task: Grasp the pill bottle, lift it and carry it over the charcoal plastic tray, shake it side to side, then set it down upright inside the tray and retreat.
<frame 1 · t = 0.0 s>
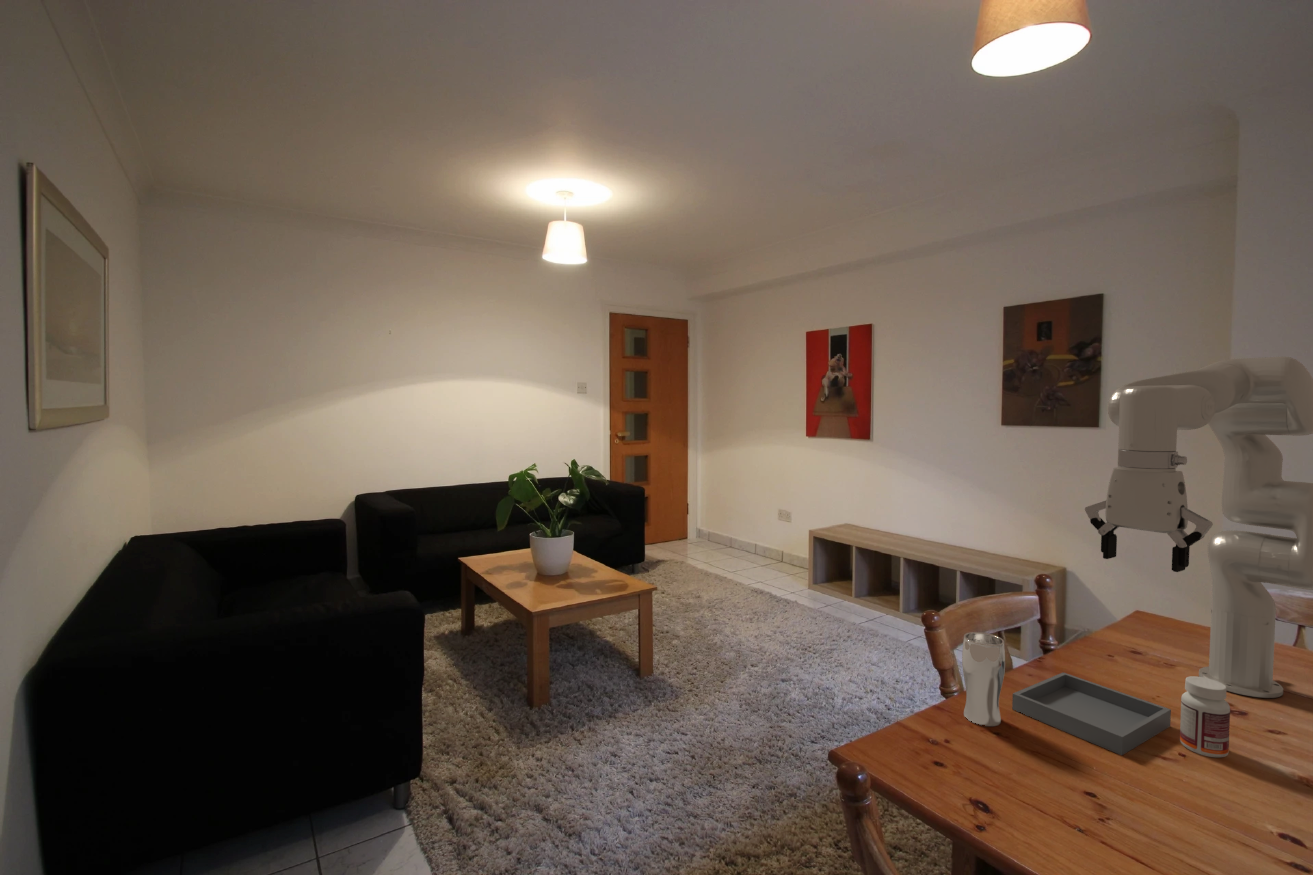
hand: (1142, 563, 103), 31 cm above the table, tool pointing down, fingers open, 9 cm apart
beer glass: (981, 719, 114), on the table
pill bottle: (1203, 749, 104), on the table
tray: (1089, 717, 114), on the table
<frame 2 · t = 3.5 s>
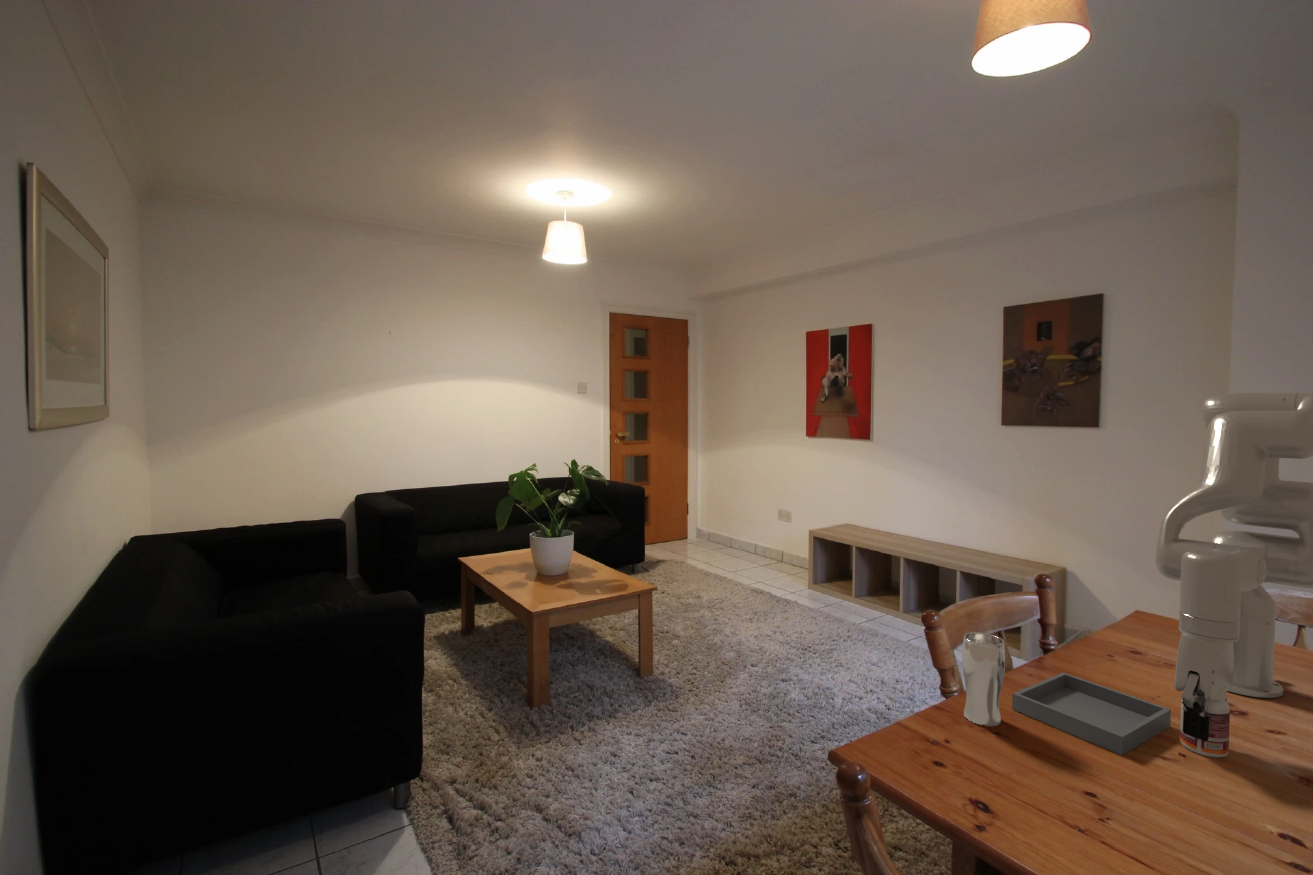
hand: (1204, 730, 104), 3 cm above the table, tool pointing down, fingers closed on pill bottle, 6 cm apart
pill bottle: (1203, 749, 104), on the table, touching gripper
everything else where it was.
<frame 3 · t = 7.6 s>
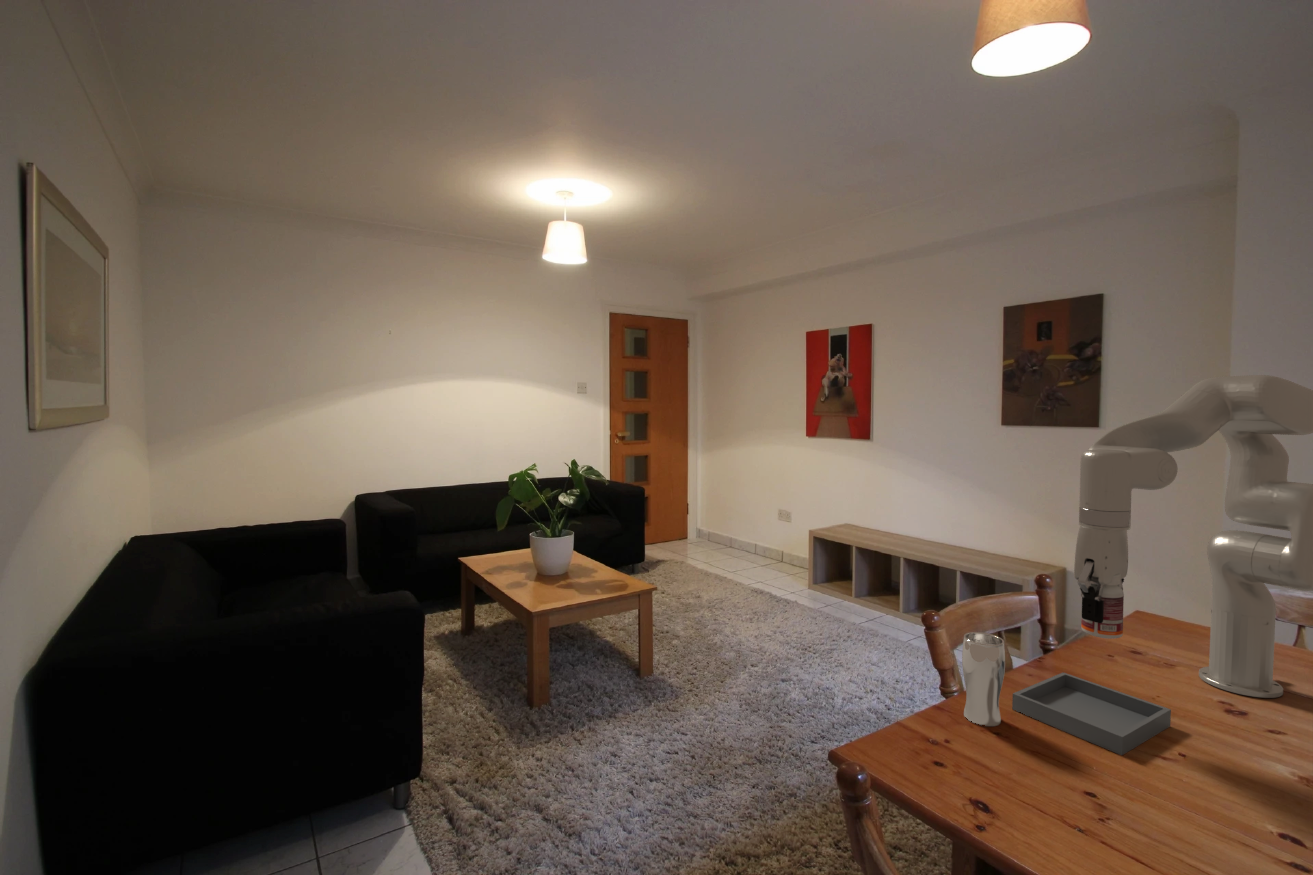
hand: (1101, 616, 112), 19 cm above the table, tool pointing down, fingers closed on pill bottle, 6 cm apart
pill bottle: (1101, 634, 112), point 16 cm above the table, touching gripper
everything else where it was.
when the fingers open (5 cm above the table, at t = 11.7 s): pill bottle drops 1 cm, resting on tray.
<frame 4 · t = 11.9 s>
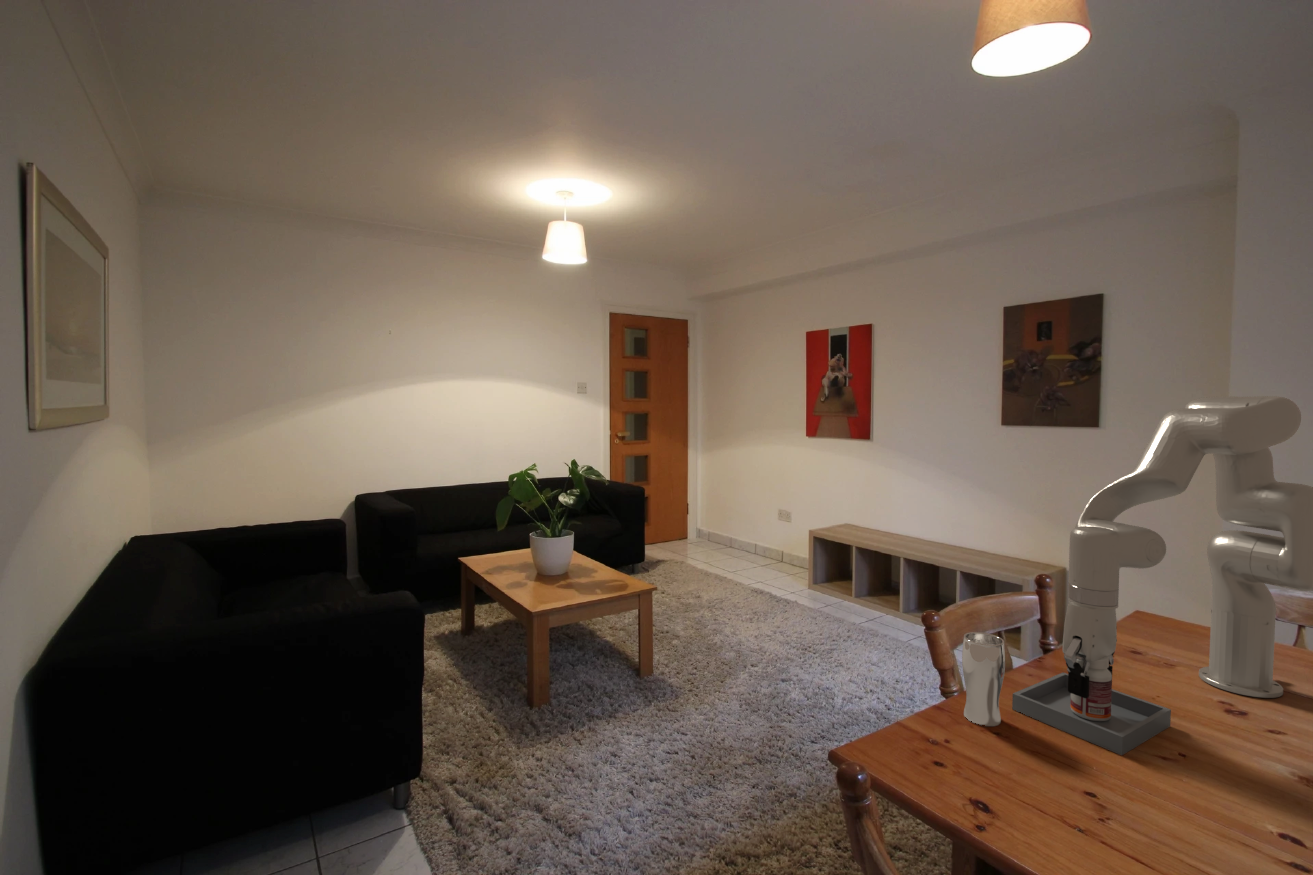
hand: (1090, 688, 114), 5 cm above the table, tool pointing down, fingers open, 7 cm apart
pill bottle: (1090, 715, 114), resting on tray
everything else where it was.
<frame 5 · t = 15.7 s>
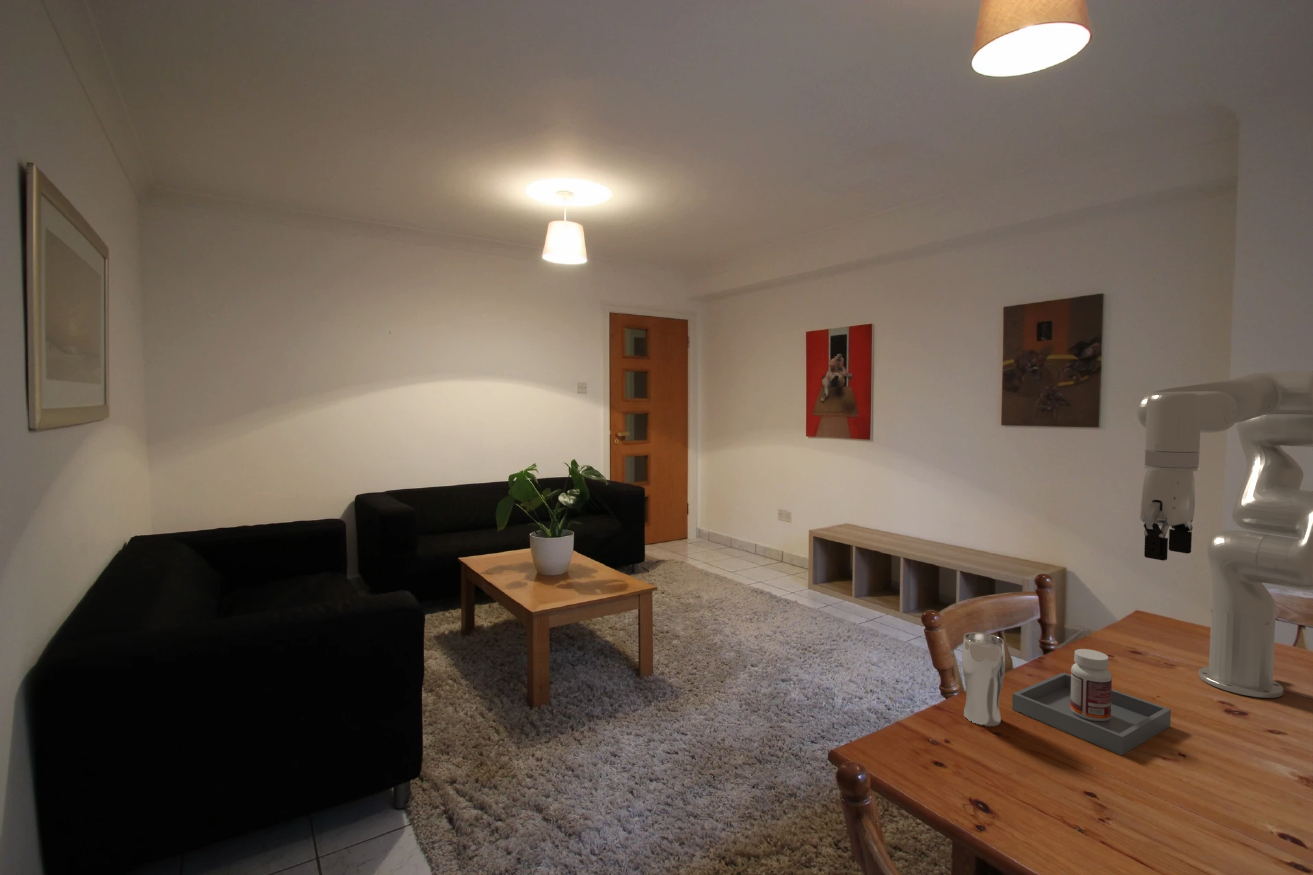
hand: (1167, 555, 112), 30 cm above the table, tool pointing down, fingers open, 9 cm apart
nothing on the table moved.
at the end: pill bottle inside the target area on the tray (0.2 cm from its centre), point 0.4 cm above the tray's base; pill bottle tilted 0°; the gripper is holding nothing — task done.
